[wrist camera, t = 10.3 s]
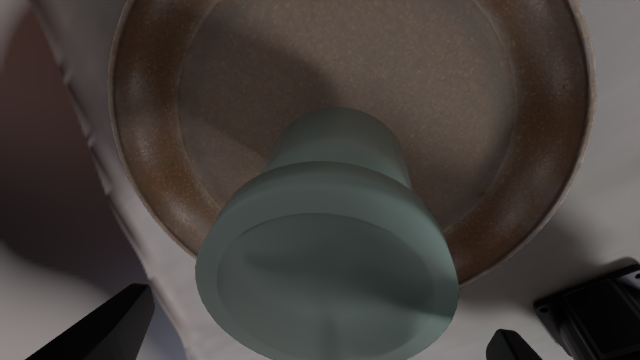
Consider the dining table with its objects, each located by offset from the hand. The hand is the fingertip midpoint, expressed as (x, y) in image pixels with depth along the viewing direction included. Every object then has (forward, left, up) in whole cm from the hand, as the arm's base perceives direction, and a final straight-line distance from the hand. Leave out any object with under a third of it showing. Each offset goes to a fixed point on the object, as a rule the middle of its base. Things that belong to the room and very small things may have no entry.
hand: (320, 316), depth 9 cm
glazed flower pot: (0, 0, -8) cm, 8 cm away
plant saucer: (0, 0, -11) cm, 11 cm away
